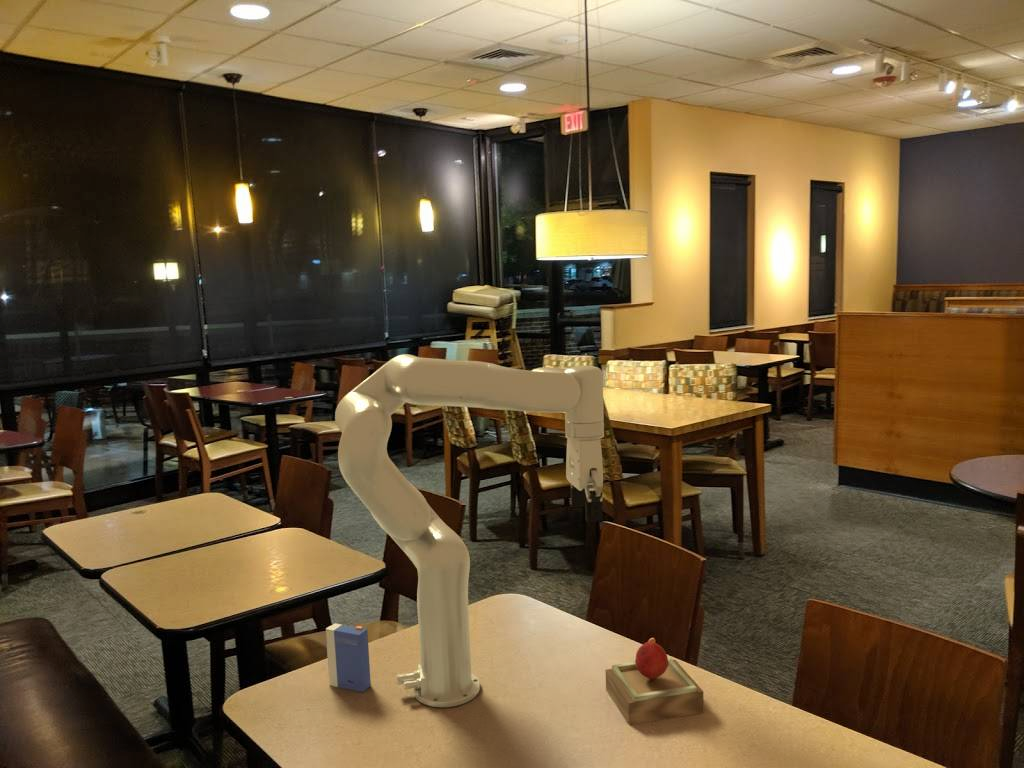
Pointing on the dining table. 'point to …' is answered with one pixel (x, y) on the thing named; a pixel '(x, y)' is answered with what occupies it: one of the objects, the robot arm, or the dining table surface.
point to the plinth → (653, 693)
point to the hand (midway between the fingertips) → (586, 513)
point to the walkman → (348, 657)
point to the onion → (651, 660)
